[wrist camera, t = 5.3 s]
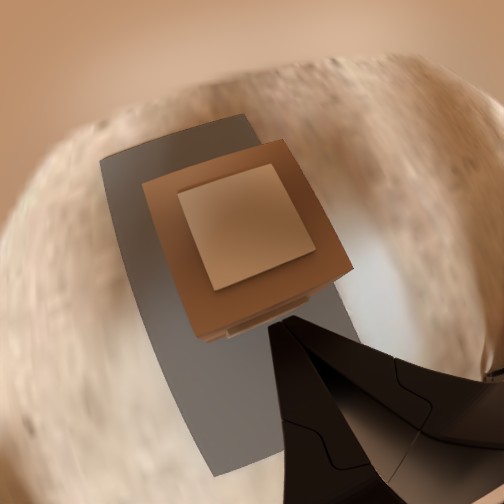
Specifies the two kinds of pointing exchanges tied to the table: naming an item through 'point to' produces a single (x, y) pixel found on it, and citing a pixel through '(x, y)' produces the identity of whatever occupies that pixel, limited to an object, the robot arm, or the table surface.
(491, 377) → the coffee press
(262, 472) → the table surface
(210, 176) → the brown rectangular block
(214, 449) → the mat
